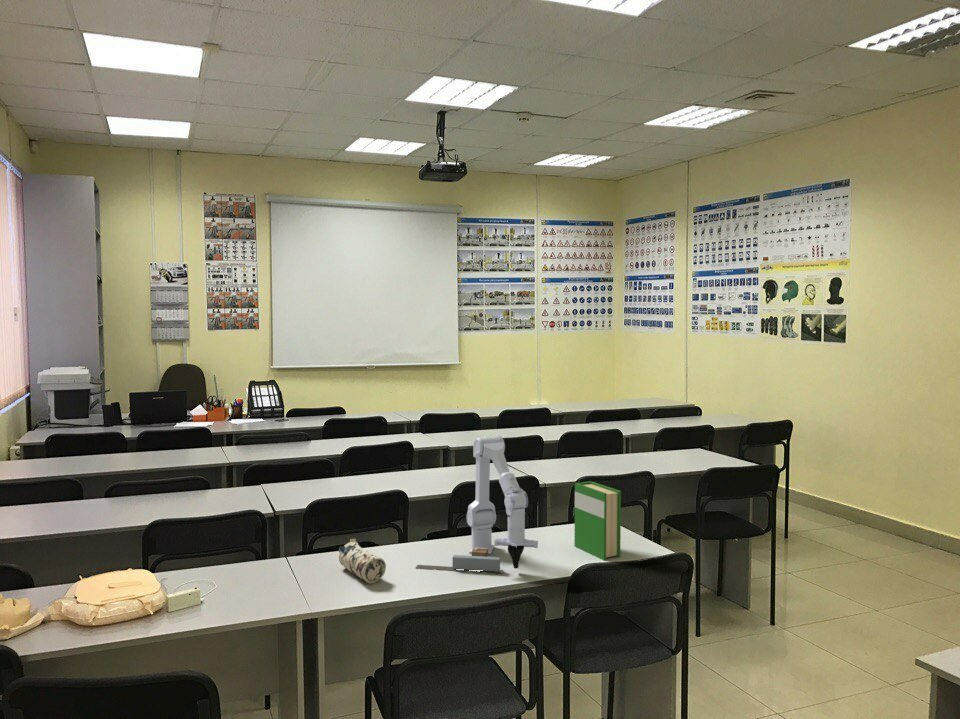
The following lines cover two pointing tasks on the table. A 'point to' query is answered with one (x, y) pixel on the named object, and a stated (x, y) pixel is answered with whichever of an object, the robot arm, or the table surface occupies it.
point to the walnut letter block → (480, 552)
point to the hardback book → (597, 519)
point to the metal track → (450, 568)
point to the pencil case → (361, 562)
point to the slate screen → (476, 563)
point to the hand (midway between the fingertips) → (516, 567)
